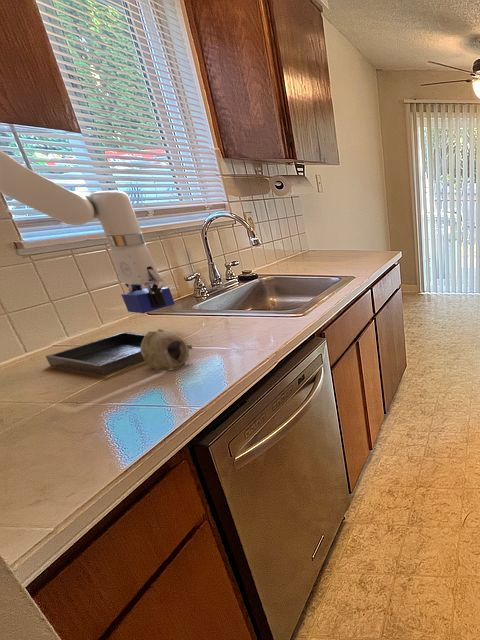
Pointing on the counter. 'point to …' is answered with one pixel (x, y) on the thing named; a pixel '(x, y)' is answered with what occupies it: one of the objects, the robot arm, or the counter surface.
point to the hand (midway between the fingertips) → (151, 305)
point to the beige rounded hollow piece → (164, 350)
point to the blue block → (145, 300)
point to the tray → (101, 355)
